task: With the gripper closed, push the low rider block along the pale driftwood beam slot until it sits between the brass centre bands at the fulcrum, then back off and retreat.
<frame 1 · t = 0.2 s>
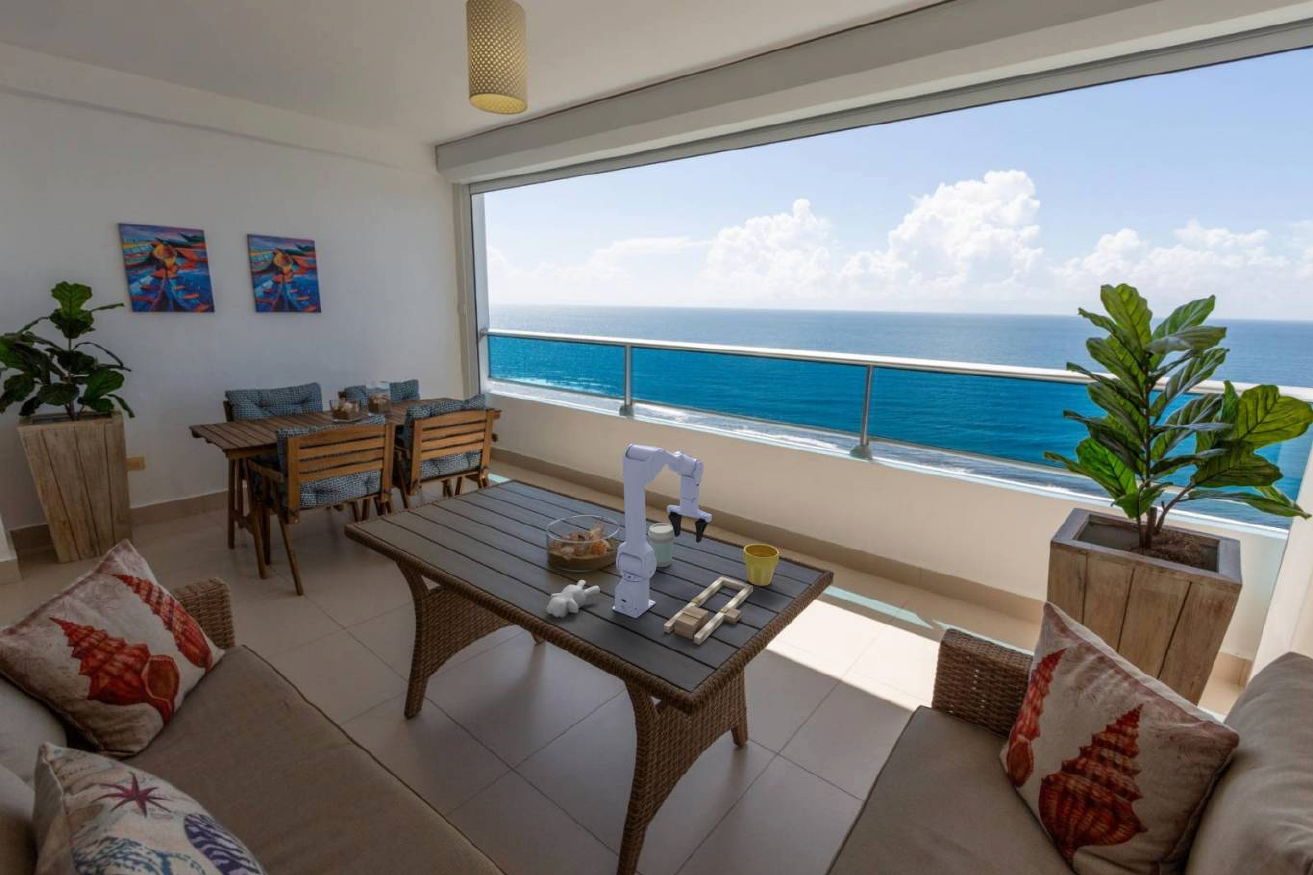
hand: (688, 538, 170), 10 cm above the table, fingers open, 7 cm apart
beam slot: (709, 611, 148), on the table
coffee cup: (662, 563, 176), on the table, touching gripper
plant pot: (759, 581, 166), on the table
rider block: (691, 629, 140), on the table
bunny figurine: (572, 607, 150), on the table
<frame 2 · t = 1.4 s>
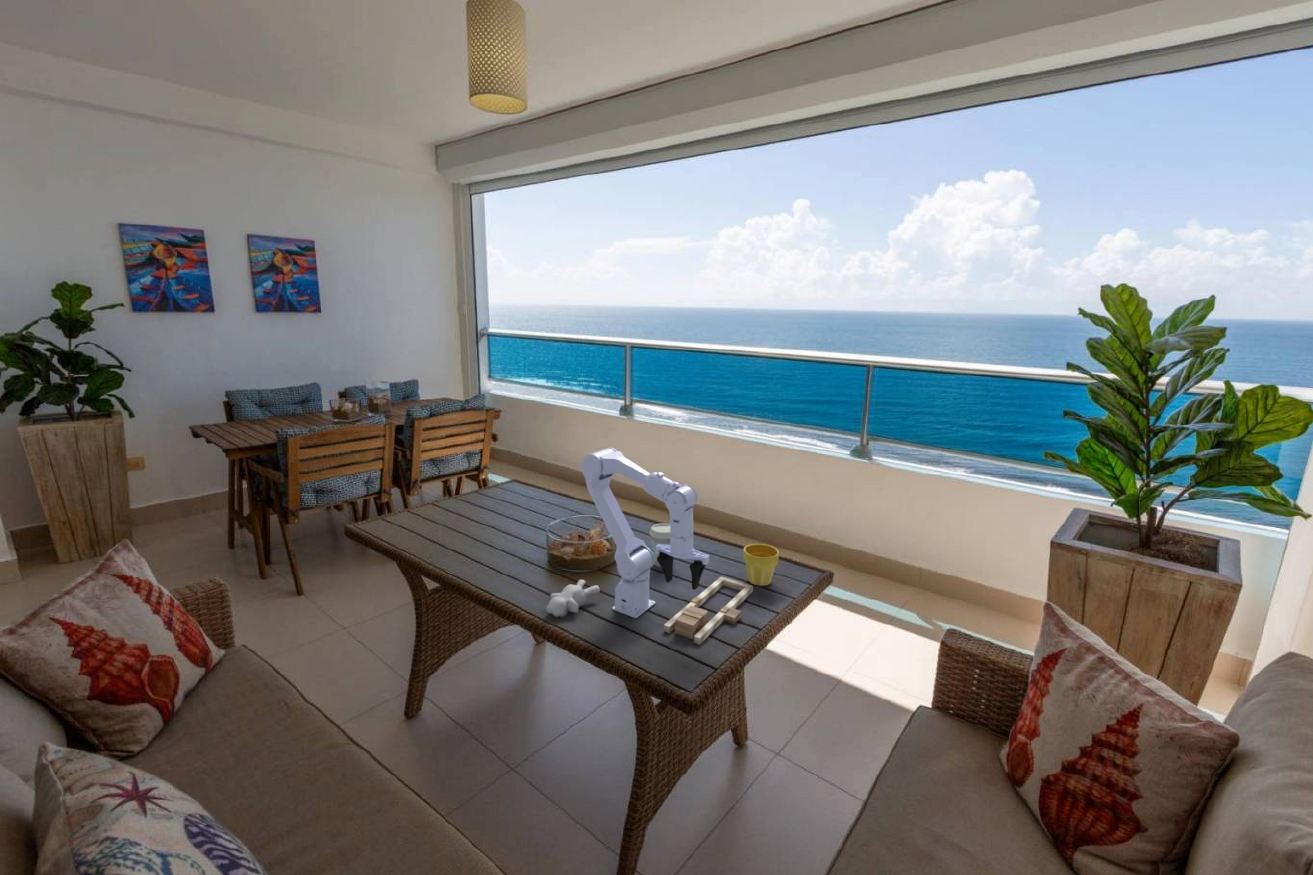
hand: (682, 584, 141), 10 cm above the table, fingers open, 7 cm apart
coffee cup: (662, 563, 176), on the table
everything else where it was.
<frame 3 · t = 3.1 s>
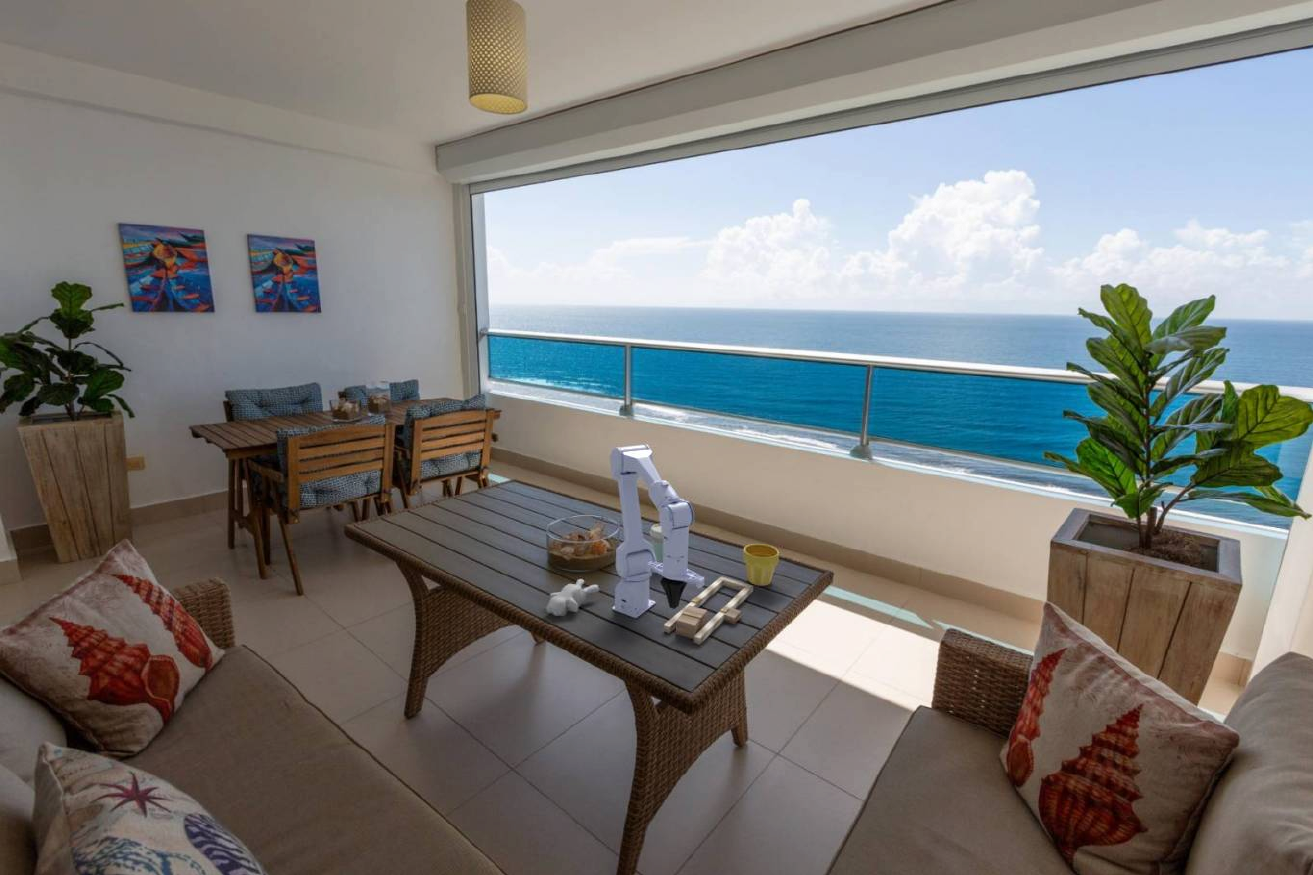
hand: (674, 606, 130), 10 cm above the table, fingers closed
nothing on the table moved.
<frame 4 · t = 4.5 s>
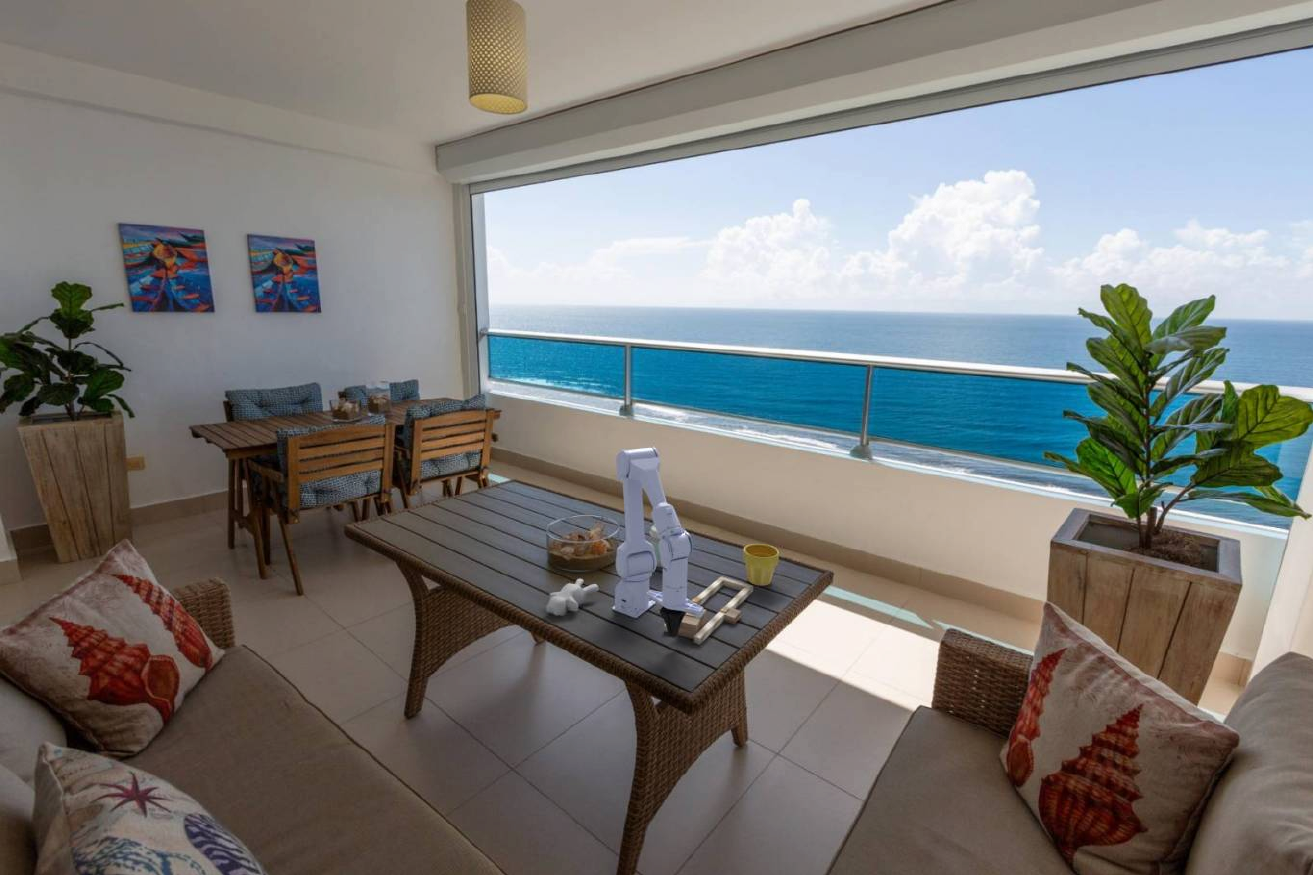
hand: (673, 635, 132), 3 cm above the table, fingers closed
nothing on the table moved.
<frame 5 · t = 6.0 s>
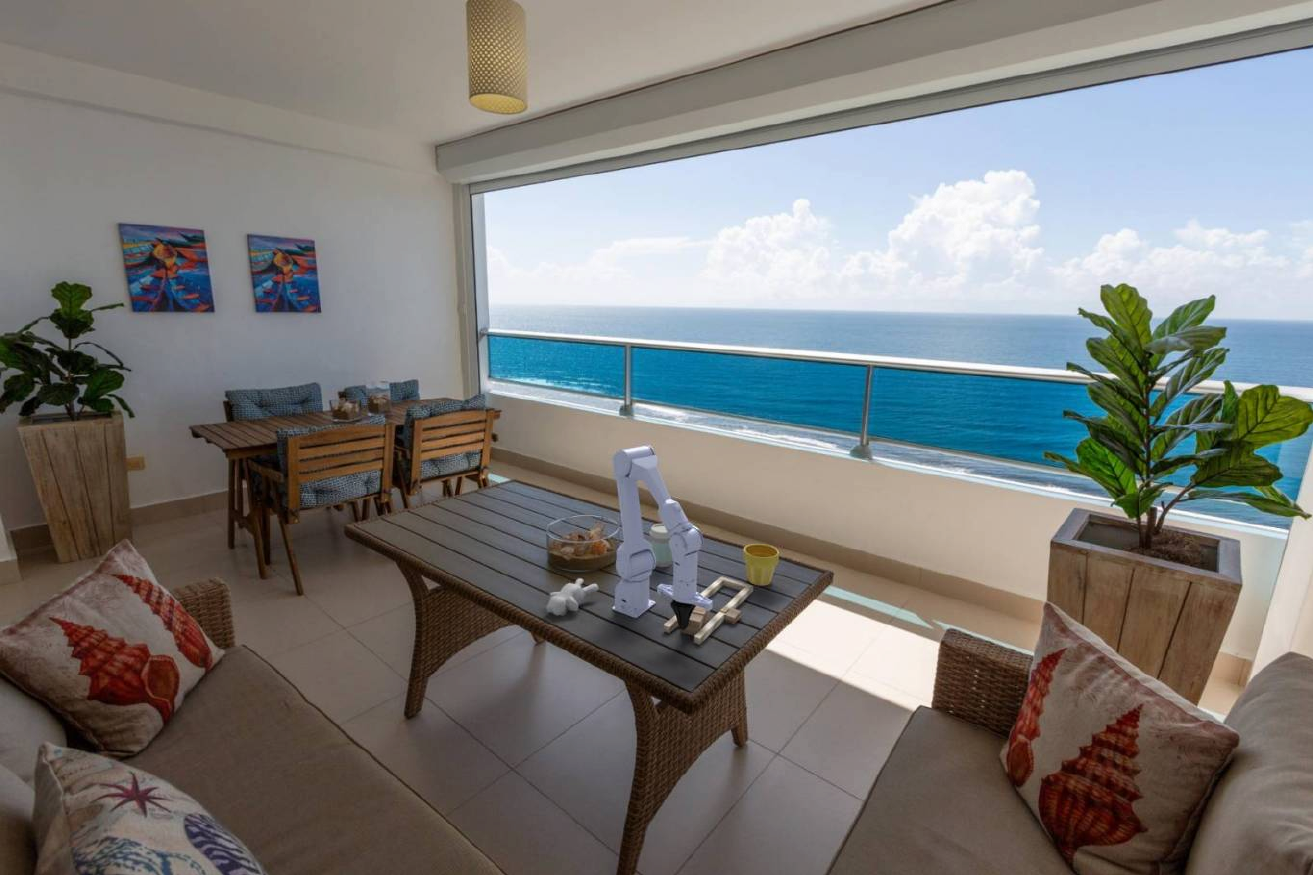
hand: (683, 627, 136), 2 cm above the table, fingers closed
rider block: (694, 626, 141), on the table
everything else where it was.
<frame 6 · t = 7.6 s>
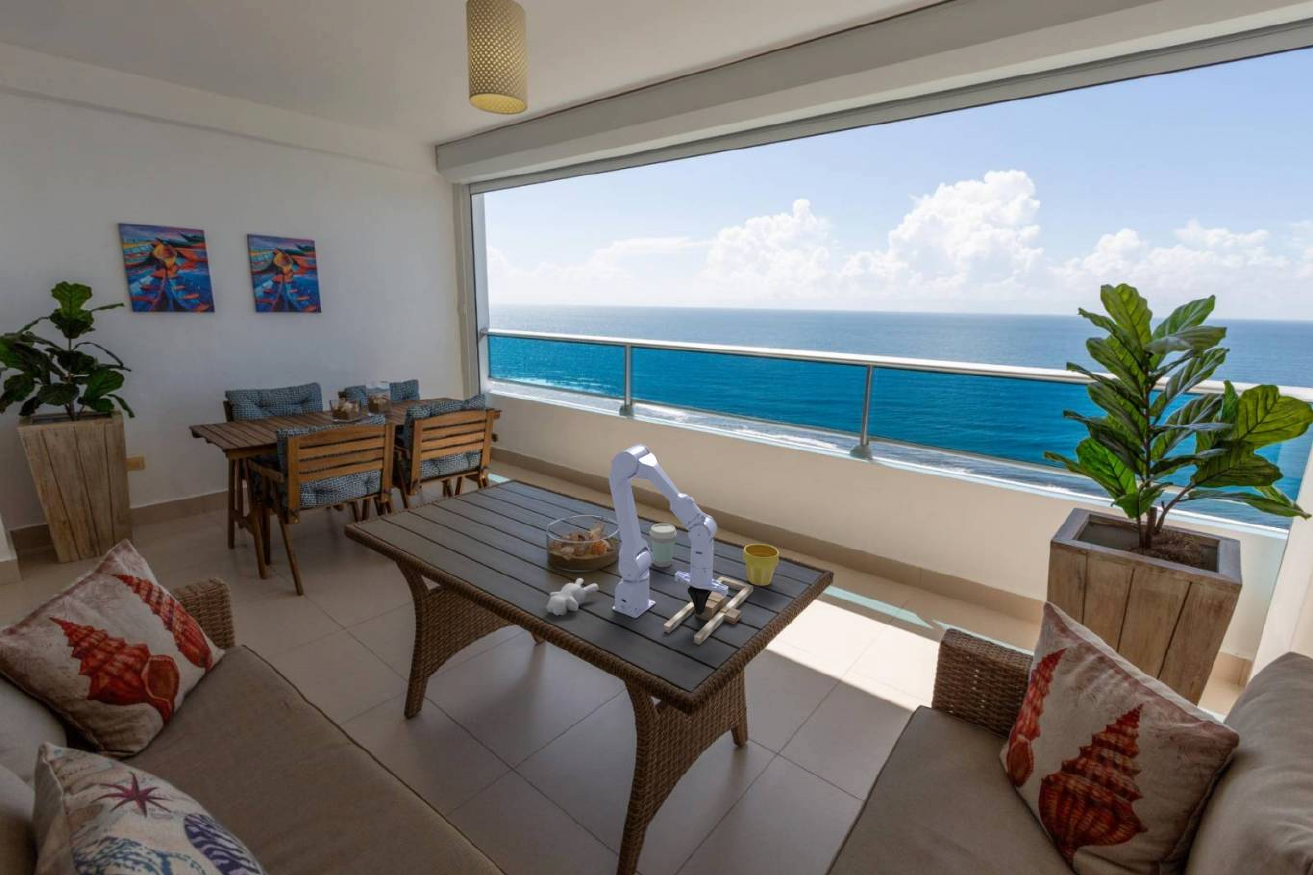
hand: (699, 612, 143), 2 cm above the table, fingers closed, pressing on rider block
rider block: (710, 612, 148), on the table, touching gripper
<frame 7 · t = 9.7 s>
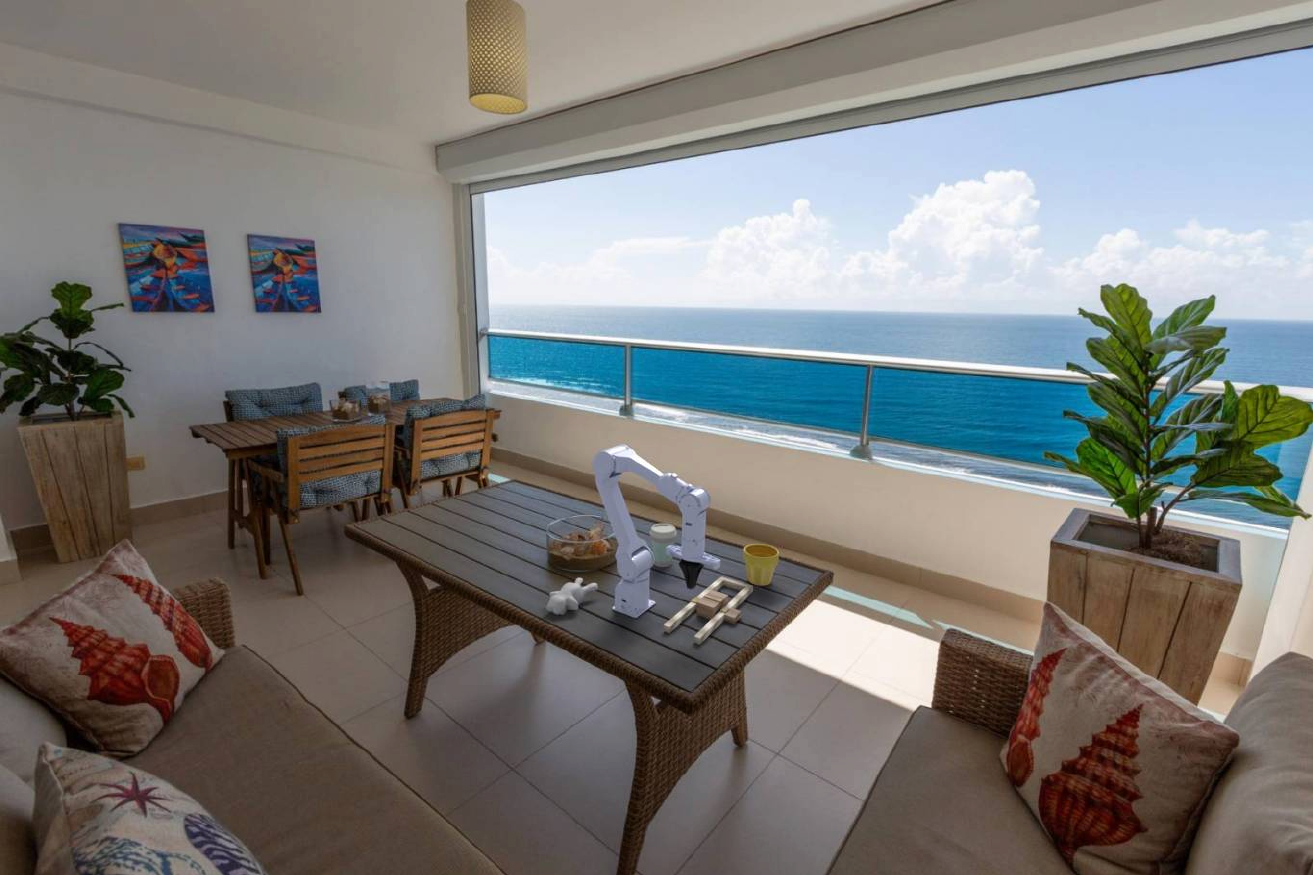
hand: (691, 587, 140), 10 cm above the table, fingers closed
rider block: (712, 612, 148), on the table
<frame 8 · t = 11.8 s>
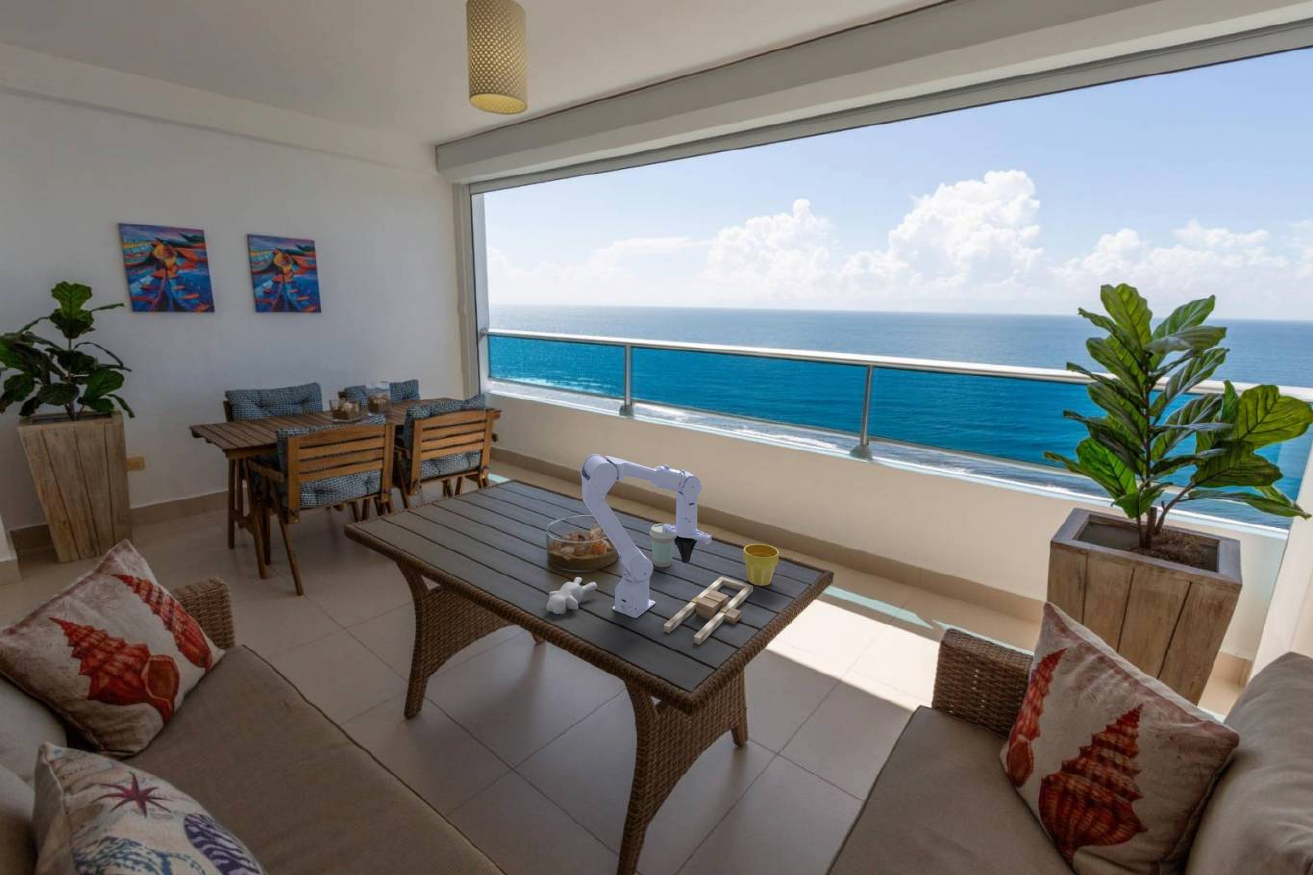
hand: (685, 561, 154), 10 cm above the table, fingers closed
at the end: rider block inside the target area (0.6 cm from its centre), on the table; rider block tilted 0°; rider block moved 10.4 cm from its start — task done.
